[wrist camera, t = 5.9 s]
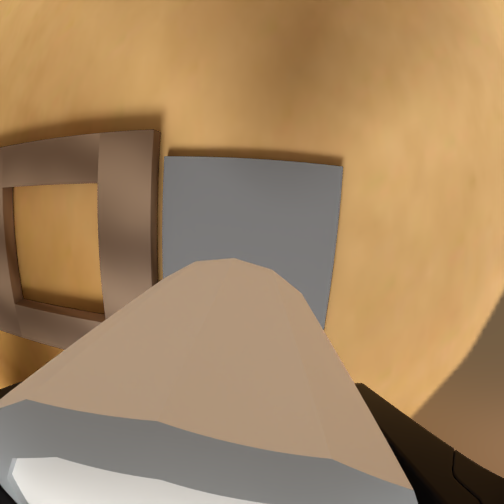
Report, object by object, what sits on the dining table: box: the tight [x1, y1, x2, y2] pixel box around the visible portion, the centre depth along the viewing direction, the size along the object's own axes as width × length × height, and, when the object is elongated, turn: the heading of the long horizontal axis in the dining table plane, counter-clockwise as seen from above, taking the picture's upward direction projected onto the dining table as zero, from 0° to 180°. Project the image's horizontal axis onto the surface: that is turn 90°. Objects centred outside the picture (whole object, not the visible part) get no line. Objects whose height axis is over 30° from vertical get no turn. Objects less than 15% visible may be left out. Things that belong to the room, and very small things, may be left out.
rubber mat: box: [162, 156, 343, 330], centre depth 18 cm, size 12×10×1 cm
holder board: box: [0, 130, 161, 350], centre depth 18 cm, size 15×16×1 cm
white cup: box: [0, 258, 418, 504], centre depth 6 cm, size 7×7×7 cm
